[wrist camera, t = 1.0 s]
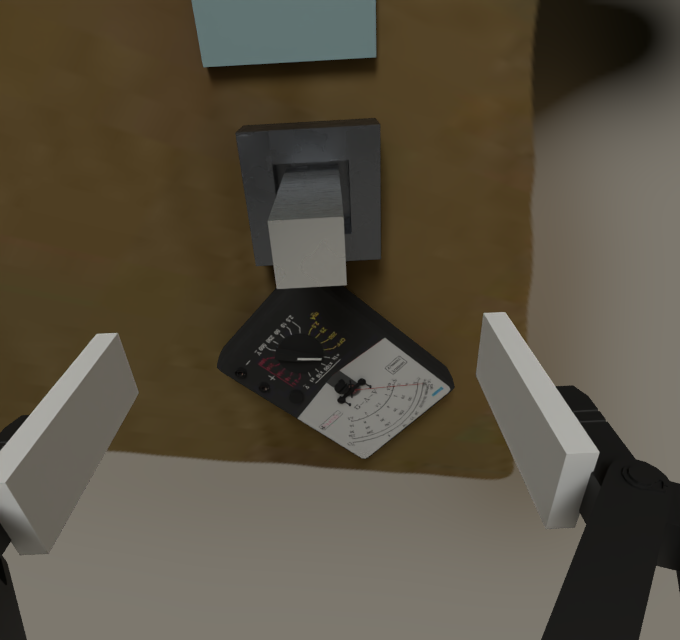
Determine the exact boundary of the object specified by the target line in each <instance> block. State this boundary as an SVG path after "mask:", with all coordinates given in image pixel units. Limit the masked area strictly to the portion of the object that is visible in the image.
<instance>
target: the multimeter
mask: <svg viewBox="0 0 680 640" xmlns="http://www.w3.org/2000/svg"><path fill="white" fill-rule="evenodd" d="M217 368H218V369H219V370H220V371H221V372H223V373H224V374H226V375H227V376H229V377H231V378H232V379H234V380H235V381H237V382H239V383H240V384H242V385H244V386H245V387H247V388H248V389H250V390H252V391H253V392H255V393H257V394H258V395H260V396H261V397H263V398H265V399H266V400H268V401H270V402H271V403H273V404H274V405H276V406H278V407H279V408H281V409H283V410H284V411H286V412H287V413H289V414H291V415H292V416H294V417H296V418H297V419H299V420H300V421H302V422H304V423H305V424H307V425H308V426H310V427H312V428H313V429H315V430H317V431H318V432H320V433H321V434H323V435H325V436H326V437H328V438H330V439H331V440H333V441H334V442H336V443H338V444H339V445H341V446H343V447H344V448H346V449H347V450H349V451H351V452H352V453H354V454H356V455H357V456H359V457H360V458H363V459H366V458H368V457H370V456H371V455H372V454H373V453H375V452H376V451H377V450H378V449H380V448H381V447H382V446H383V445H385V444H386V443H387V442H388V441H390V440H391V439H392V438H393V437H395V436H396V435H397V434H398V433H400V432H401V431H402V430H403V429H405V428H406V427H407V426H408V425H410V424H411V423H412V422H413V421H415V420H416V419H417V418H418V417H420V416H421V415H422V414H423V413H425V412H426V411H427V410H428V409H430V408H431V407H432V406H433V405H435V404H436V403H437V402H438V401H439V400H441V399H442V398H443V397H444V396H446V395H447V394H448V393H449V392H451V391H452V390H453V389H454V382H453V379H452V376H451V374H450V372H449V371H448V369H447V367H446V366H445V365H444V364H442V363H441V362H440V361H438V360H437V359H436V358H435V357H433V356H432V355H431V354H429V353H428V352H427V351H426V350H424V349H423V348H422V347H420V346H419V345H418V344H417V343H415V342H414V341H413V340H412V339H410V338H409V337H408V336H406V335H405V334H404V333H403V332H401V331H400V330H399V329H397V328H396V327H395V326H394V325H392V324H391V323H390V322H388V321H387V320H386V319H385V318H383V317H382V316H381V315H380V314H378V313H377V312H376V311H374V310H373V309H372V308H371V307H369V306H368V305H367V304H365V303H364V302H363V301H362V300H360V299H359V298H358V297H356V296H355V295H354V294H353V293H351V292H350V291H349V290H348V289H346V288H345V287H344V286H342V285H341V286H323V287H305V288H288V289H277V288H276V289H275V290H274V291H273V292H272V293H271V295H270V296H269V297H268V298H267V299H266V300H265V301H264V302H263V303H262V305H261V306H260V307H259V308H258V309H257V310H256V311H255V312H254V314H253V315H252V316H251V317H250V318H249V319H248V320H247V321H246V323H245V324H244V325H243V326H242V327H241V328H240V329H239V330H238V331H237V333H236V334H235V335H234V336H233V337H232V338H231V339H230V340H229V342H228V343H227V344H226V345H225V346H224V347H223V349H222V351H221V353H220V356H219V359H218V364H217Z"/></svg>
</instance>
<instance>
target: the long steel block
mask: <svg viewBox="0 0 680 640" xmlns="http://www.w3.org/2000/svg"><path fill="white" fill-rule="evenodd" d="M268 228H269V235H270V243H271V250H272V258H273V265H274V273H275V280H276V288H277V289H288V288H305V287H323V286H341V285H347V279H346V258H345V236H344V216H343V206H342V196H341V187H340V177H339V167H338V164H332V165H315V166H297V167H286V170H285V172H284V175H283V178H282V181H281V184H280V187H279V190H278V192H277V195H276V198H275V201H274V204H273V207H272V210H271V213H270V215H269V218H268Z"/></svg>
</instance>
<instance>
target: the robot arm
mask: <svg viewBox="0 0 680 640" xmlns="http://www.w3.org/2000/svg"><path fill="white" fill-rule="evenodd" d="M476 376H477V379H478V381H479V383H480V385H481V387H482V390H483V392H484V394H485V396H486V398H487V401H488V403H489V405H490V407H491V409H492V412H493V414H494V416H495V418H496V421H497V423H498V425H499V427H500V429H501V432H502V434H503V436H504V438H505V440H506V443H507V445H508V447H509V449H510V451H511V454H512V456H513V458H514V460H515V462H516V465H517V467H518V469H519V471H520V473H521V476H522V478H523V480H524V482H525V484H526V487H527V489H528V491H529V493H530V496H531V498H532V500H533V502H534V504H535V506H536V509H537V511H538V513H539V515H540V517H541V520H542V522H543V524H544V526H545V529H557V528H574V527H575V526H576V522H577V520H578V517H579V514H581V515H582V517H583V519H584V521H585V523H586V527H585V530H584V532H583V534H582V537H581V539H580V542H579V545H578V547H577V550H576V552H575V555H574V557H573V560H572V562H571V565H570V568H569V570H568V573H567V576H566V578H565V580H564V583H563V585H562V588H561V591H560V593H559V596H558V598H557V601H556V603H555V606H554V608H553V611H552V613H551V616H550V618H549V621H548V624H547V626H546V629H545V631H544V634H543V636H542V639H541V640H639V636H640V632H641V627H642V623H643V619H644V614H645V610H646V606H647V602H648V597H649V593H650V589H651V585H652V580H653V576H654V571H655V568H656V566H660V567H664V568H668V569H672V570H676V571H677V578H678V584H679V591H680V484H679V483H675V482H671V481H669V480H668V478H667V477H666V475H664V474H663V473H662V472H661V471H660V470H659V469H657V468H656V467H654V466H652V465H650V464H648V463H646V462H643V461H640V460H636V459H635V458H634V456H633V455H632V454H631V452H630V451H629V450H628V448H627V447H626V446H625V444H624V443H623V442H622V440H621V439H620V438H619V436H618V435H617V434H616V432H615V431H614V430H613V428H612V427H611V426H610V424H609V423H608V422H606V420H605V418H604V416H603V415H602V414H601V412H600V411H598V408H597V407H596V406H595V404H594V403H593V402H592V400H591V399H590V398H589V397H588V396H587V395H586V394H584V393H583V392H582V391H580V390H579V389H577V388H576V387H575V386H556V387H555V385H554V384H553V382H552V381H551V379H550V378H549V377H548V375H547V374H546V372H545V371H544V369H543V368H542V366H541V365H540V363H539V362H538V360H537V359H536V357H535V356H534V354H533V353H532V351H531V350H530V348H529V347H528V345H527V344H526V342H525V341H524V339H523V338H522V336H521V335H520V333H519V332H518V331H517V329H516V328H515V326H514V325H513V323H512V322H511V320H510V319H509V317H508V316H507V314H506V313H505V312H497V313H484V314H483V322H482V330H481V338H480V346H479V354H478V362H477V370H476ZM138 393H139V392H138V389H137V386H136V383H135V381H134V378H133V375H132V372H131V369H130V366H129V363H128V360H127V358H126V355H125V352H124V349H123V346H122V343H121V340H120V338H119V335H118V333H107V334H96V336H95V337H94V338H93V339H92V340H91V342H90V343H89V344H88V345H87V346H86V348H85V349H84V350H83V351H82V352H81V354H80V355H79V356H78V357H77V359H76V360H75V361H74V362H73V363H72V365H71V366H70V367H69V368H68V369H67V371H66V372H65V373H64V374H63V376H62V377H61V378H60V379H59V380H58V382H57V383H56V384H55V385H54V386H53V388H52V389H51V390H50V391H49V392H48V394H47V395H46V396H45V397H44V399H43V400H42V401H41V402H40V403H39V405H38V406H37V407H36V408H35V409H34V411H33V412H32V413H31V414H30V415H22V416H20V417H19V418H18V419H16V420H15V421H13V422H12V423H11V424H9V425H8V426H7V427H5V428H4V429H3V430H2V432H1V433H0V640H27V639H26V635H25V631H24V627H23V623H22V619H21V615H20V611H19V607H18V603H17V600H16V595H15V591H14V588H13V583H12V580H11V576H10V572H9V568H8V564H7V562H6V560H5V559H4V558H3V556H2V554H3V553H4V551H5V550H6V548H7V546H8V545H9V543H10V542H12V544H13V545H14V547H15V548H16V550H17V551H18V553H19V554H20V555H35V554H49V552H50V551H51V549H52V547H53V545H54V544H55V542H56V540H57V538H58V536H59V535H60V533H61V531H62V529H63V527H64V526H65V524H66V522H67V520H68V518H69V517H70V515H71V513H72V511H73V510H74V508H75V506H76V504H77V502H78V501H79V499H80V497H81V495H82V493H83V491H84V490H85V488H86V486H87V484H88V483H89V481H90V479H91V477H92V476H93V474H94V472H95V470H96V468H97V467H98V464H99V463H100V461H101V460H102V458H103V456H104V454H105V452H106V451H107V449H108V447H109V445H110V443H111V442H112V440H113V438H114V436H115V434H116V433H117V431H118V429H119V427H120V426H121V424H122V422H123V420H124V418H125V417H126V415H127V413H128V411H129V409H130V408H131V406H132V404H133V402H134V401H135V399H136V397H137V395H138Z"/></svg>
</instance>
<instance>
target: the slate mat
mask: <svg viewBox="0 0 680 640" xmlns="http://www.w3.org/2000/svg"><path fill="white" fill-rule="evenodd" d="M192 6H193V11H194V17H195V23H196V28H197V34H198V40H199V45H200V51H201V57H202V62H203V67H216V66H234V65H251V64H268V63H285V62H303V61H320V60H337V59H354V58H372V57H376V0H192Z"/></svg>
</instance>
